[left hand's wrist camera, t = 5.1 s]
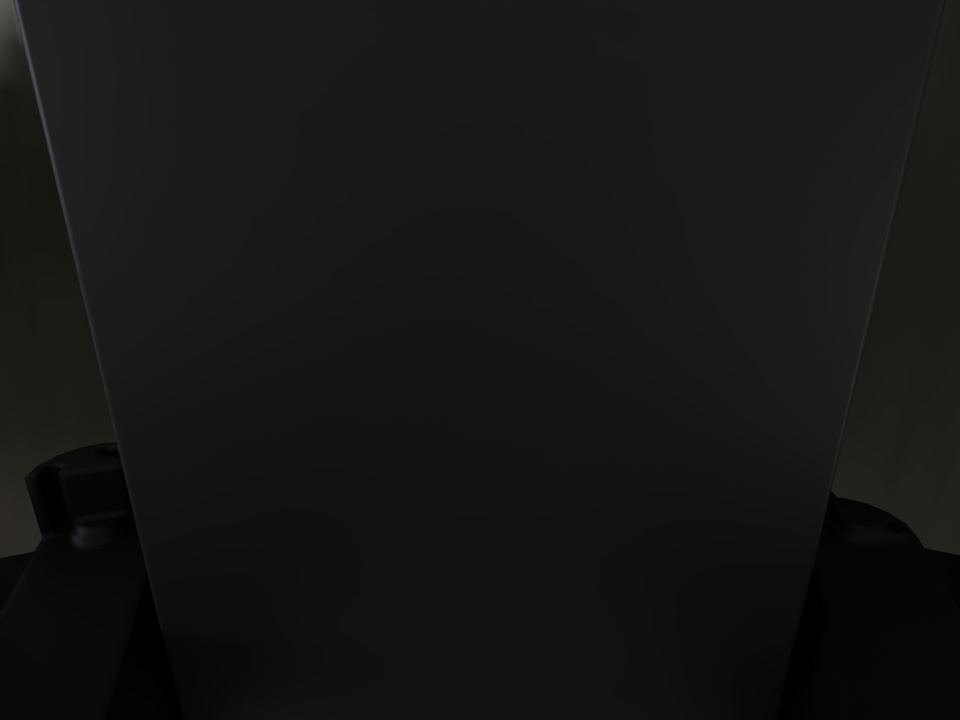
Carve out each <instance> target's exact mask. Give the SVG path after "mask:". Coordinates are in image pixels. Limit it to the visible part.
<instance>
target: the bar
mask: <svg viewBox="0 0 960 720" xmlns="http://www.w3.org/2000/svg"><path fill="white" fill-rule="evenodd" d="M945 1H946V0H13V2H14V6H15V10H16V14H17V19H18V23H19V27H20V32H21V36H22V40H23V44H24V49H25V53H26V57H27V61H28V66H29V70H30V74H31V78H32V83H33V87H34V91H35V96H36V100H37V104H38V108H39V113H40V117H41V121H42V125H43V130H44V134H45V138H46V142H47V147H48V151H49V155H50V160H51V164H52V168H53V172H54V177H55V181H56V185H57V189H58V194H59V198H60V202H61V206H62V211H63V215H64V219H65V224H66V228H67V232H68V236H69V241H70V245H71V249H72V253H73V258H74V262H75V266H76V270H77V275H78V279H79V283H80V288H81V292H82V296H83V300H84V305H85V309H86V313H87V317H88V322H89V326H90V330H91V334H92V339H93V343H94V347H95V352H96V356H97V360H98V364H99V369H100V373H101V377H102V381H103V386H104V390H105V394H106V398H107V403H108V407H109V411H110V416H111V420H112V424H113V428H114V433H115V437H116V441H117V445H118V450H119V454H120V458H121V462H122V467H123V471H124V475H125V480H126V484H127V488H128V492H129V497H130V501H131V505H132V509H133V514H134V518H135V522H136V526H137V531H138V535H139V539H140V544H141V548H142V552H143V556H144V561H145V565H146V569H147V573H148V578H149V582H150V586H151V590H152V595H153V599H154V603H155V608H156V612H157V616H158V620H159V625H160V629H161V633H162V637H163V642H164V646H165V650H166V654H167V659H168V663H169V667H170V672H171V676H172V680H173V684H174V689H175V693H176V697H177V701H178V706H179V710H180V714H181V718H182V720H778V715H779V711H780V707H781V702H782V698H783V694H784V690H785V685H786V681H787V677H788V673H789V668H790V664H791V660H792V655H793V651H794V647H795V643H796V638H797V634H798V630H799V626H800V621H801V617H802V613H803V608H804V604H805V600H806V596H807V591H808V587H809V583H810V578H811V574H812V570H813V566H814V561H815V557H816V553H817V549H818V544H819V540H820V536H821V531H822V527H823V523H824V519H825V514H826V510H827V506H828V502H829V497H830V493H831V489H832V484H833V480H834V476H835V472H836V467H837V463H838V459H839V455H840V450H841V446H842V442H843V437H844V433H845V429H846V425H847V420H848V416H849V412H850V408H851V403H852V399H853V395H854V390H855V386H856V382H857V378H858V373H859V369H860V365H861V361H862V356H863V352H864V348H865V343H866V339H867V335H868V331H869V326H870V322H871V318H872V313H873V309H874V305H875V301H876V296H877V292H878V288H879V284H880V279H881V275H882V271H883V266H884V262H885V258H886V254H887V249H888V245H889V241H890V237H891V232H892V228H893V224H894V219H895V215H896V211H897V207H898V202H899V198H900V194H901V190H902V185H903V181H904V177H905V172H906V168H907V164H908V160H909V155H910V151H911V147H912V143H913V138H914V134H915V130H916V125H917V121H918V117H919V113H920V108H921V104H922V100H923V96H924V91H925V87H926V83H927V78H928V74H929V70H930V66H931V61H932V57H933V53H934V48H935V44H936V40H937V36H938V31H939V27H940V23H941V19H942V14H943V10H944V6H945Z"/></svg>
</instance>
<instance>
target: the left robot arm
mask: <svg viewBox="0 0 960 720" xmlns="http://www.w3.org/2000/svg"><path fill="white" fill-rule="evenodd" d="M25 481H26V484H27V488H28V491H29V494H30V498H31V501H32V504H33V508H34V511H35V514H36V518H37V521H38V524H39V528H40V531H41V534H42V540H41V541H40V543H39V545H38V547H37V548H36V550H35V551H34V552H30V553H25V554H20V555H15V556H9V557H4V558H0V720H182V718H181V714H180V710H179V706H178V701H177V697H176V693H175V689H174V684H173V680H172V676H171V672H170V667H169V663H168V659H167V654H166V650H165V646H164V642H163V637H162V633H161V629H160V625H159V620H158V616H157V612H156V608H155V603H154V599H153V595H152V590H151V586H150V582H149V578H148V573H147V569H146V565H145V561H144V556H143V552H142V548H141V544H140V539H139V535H138V531H137V526H136V522H135V518H134V514H133V509H132V505H131V501H130V497H129V492H128V488H127V484H126V480H125V475H124V471H123V467H122V462H121V458H120V454H119V450H118V445H117V443H102V444H97V445H92V446H87V447H82V448H78V449H75V450H72V451H69V452H66V453H63V454H60V455H58V456H55V457H53V458H52V459H50V460H48V461H46V462H44V463H42V464H40V465H38V466H37V467H36V468H35V469H34V470H32V471H31V472H30V473H29V474H28V475H27V476H26V477H25ZM778 720H960V555H956V554H950V553H945V552H940V551H934V550H930V549H926V548H924V547H923V545H922V544H921V542H920V540H919V538H918V537H917V536H916V534H915V533H914V532H913V531H912V530H911V529H910V528H909V527H908V526H907V524H905V523H904V522H902V521H901V520H899V519H897V518H896V517H894V516H893V515H891V514H890V513H888V512H886V511H883V510H881V509H879V508H876V507H874V506H871V505H869V504H866V503H862V502H858V501H854V500H850V499H845V498H837V497H836V496H835V495H834V494H833V493H832V492H831V493H830V497H829V502H828V506H827V510H826V514H825V519H824V523H823V527H822V531H821V536H820V540H819V544H818V549H817V553H816V557H815V561H814V566H813V570H812V574H811V578H810V583H809V587H808V591H807V596H806V600H805V604H804V608H803V613H802V617H801V621H800V626H799V630H798V634H797V638H796V643H795V647H794V651H793V655H792V660H791V664H790V668H789V673H788V677H787V681H786V685H785V690H784V694H783V698H782V702H781V707H780V711H779V715H778Z"/></svg>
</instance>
